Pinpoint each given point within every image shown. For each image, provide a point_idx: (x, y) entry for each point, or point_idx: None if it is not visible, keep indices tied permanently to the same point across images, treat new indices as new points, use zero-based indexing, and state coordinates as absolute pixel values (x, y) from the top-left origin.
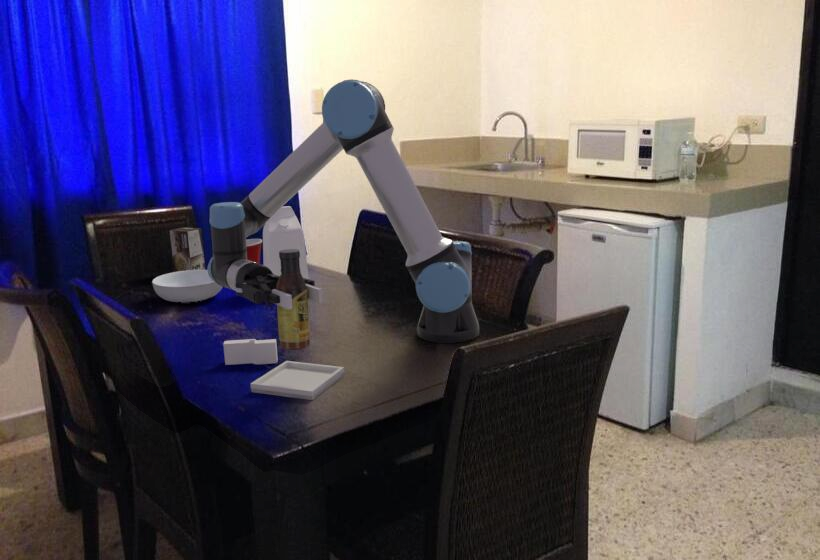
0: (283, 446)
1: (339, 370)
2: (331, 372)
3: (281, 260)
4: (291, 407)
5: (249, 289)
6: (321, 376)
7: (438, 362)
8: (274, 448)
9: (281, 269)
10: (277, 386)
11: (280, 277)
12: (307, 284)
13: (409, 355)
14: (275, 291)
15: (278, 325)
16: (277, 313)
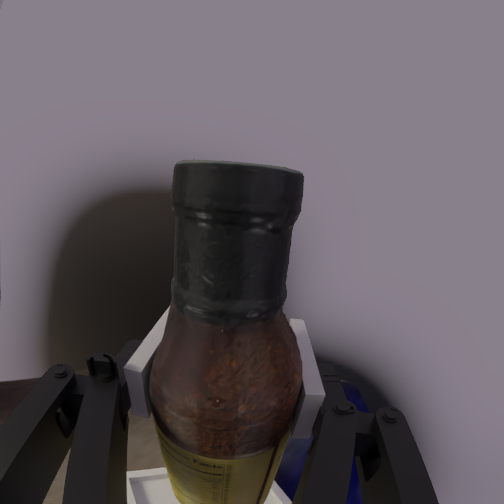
0: (342, 387)
1: (139, 471)
2: (138, 494)
3: (292, 226)
4: (290, 456)
5: (425, 472)
6: (168, 498)
7: (25, 384)
8: (351, 389)
9: (285, 285)
10: (287, 500)
11: (286, 331)
12: (137, 352)
13: (3, 419)
14: (318, 371)
15: (273, 480)
16: (275, 469)
